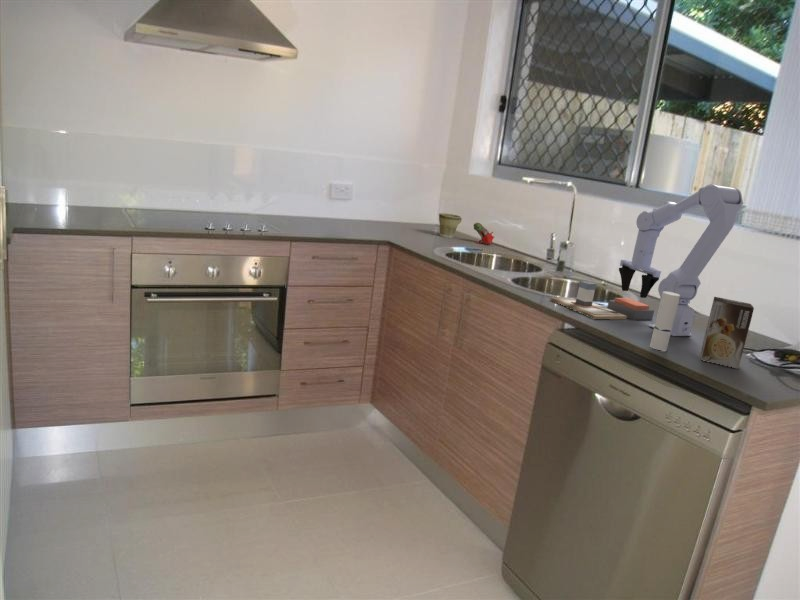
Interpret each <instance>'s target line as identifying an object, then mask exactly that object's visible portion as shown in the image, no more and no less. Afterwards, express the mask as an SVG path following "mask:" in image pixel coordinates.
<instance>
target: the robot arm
mask: <svg viewBox="0 0 800 600" xmlns="http://www.w3.org/2000/svg"><path fill="white" fill-rule="evenodd" d="M743 205H744V201H743V197H742V192H741V190H740V189H739V188H737V187H735V186H734V187H733V186H722V185H716V184H712V183H711V184H707V185H705V186H703V187H700V188H699V189H698V191H696V192H695V193H693V194H690V195H689V196H687V197H685V198H684V199H682V200H680V201H678V202H673V201H669V200H668V201H665V202H664V205H663V204H662V206H660V207H658V208H657V207H655V208H653V209H652V210H651V211H647V210H646V211H645V210H644V211H642V212H641V213H639V215H638V216H637V218H636V222H635V223H636V226H637V227H636V228H637V229H638V231H637V236H636V240H635V245H634V249H633V254H632V256H631V257H632V258H631V260H626V259H620V263H619V266H620V267H618V271H619V274H620V280H621V281H620V282H621V291H623V292H629V289H630V286H631V283H632V279H633V277H634V275H635V273H636V272H640V273H643V274H641V290H640V292H639V293H640V294H639V297H640V298H642V299H647V297H648V295H649V293H650V291H651V289H652V288H653V286H655V284H656V283H657V282H658V281H659V280H660V278H661V277H660V276H661V273H662V271H661V270H658V269H656V268H654V267H652V261H653V257H654V253H655V248H656V244H657V240H658V238H659V237H660V234H661V232H662V231H663V230H664V228H665V227H666V226H668V225H670V224H673V223H675V222H678V221H679V220H680V219H681V217H682V215H683V214H686V213H688V212H691V211H693V210H695V209H698V208H700V207H702V208H703V210H704V213H705V215H706V217H707V219H709V224H707V225H708V226H707V227H706V228H705V229H704V231H703V233H702V234H701V235H700V237H699V239H698V240H697V242H696V243H695V244H694V246H693V248H692V249H691V251H689V253H688V255H687V256H686V258H685V259H684V261H683V262H682V264H681V265H680V266H679V267H678V268H677V269H674V270H673V271H671V272H669V273H668V275H667V276H666V277H664V278H663V279H662V280H661V281H660V282H659V284H658V289H657V290H658V295H659V296H660V297H659V298H660V300H661V297H662V293H663V291H666V292H673V293H676V294H679V295H680V298H679V302H678V306H677V310H676V314H675V318H674V322H673V326H672V330H671V334H670V336H672V337H686V336H687V337H688V336H689V337H691V336H692V327H693V324H694V320H695V316H696V312H695V310H694V308H693V307H691V306H689V304H690V303H691V300H693V299H694V298H695V297H697V294H698V289H699V287H700V286H701V283H702V282H701V281H700V278H699V277H700V275H701V273H702V272H703V271H704V269H705V268H706V266H707V265H708V263H709V262H710V261H711V259H712V258H713V257H714V255H715V254H716V252H717V250H718V249H719V248H720V246H721V245H722V244H723V242H724V240H725V239H726V238H727V237H728V235H729V234H730V232H731V231H732V229H733V228H734V225H735V223H736V222H735V221H736V218H737V215H738V212H739V210H740V209H741V208H742V206H743ZM648 327H650V328H653V329H654V327H655V323H654V324H648Z"/></svg>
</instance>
